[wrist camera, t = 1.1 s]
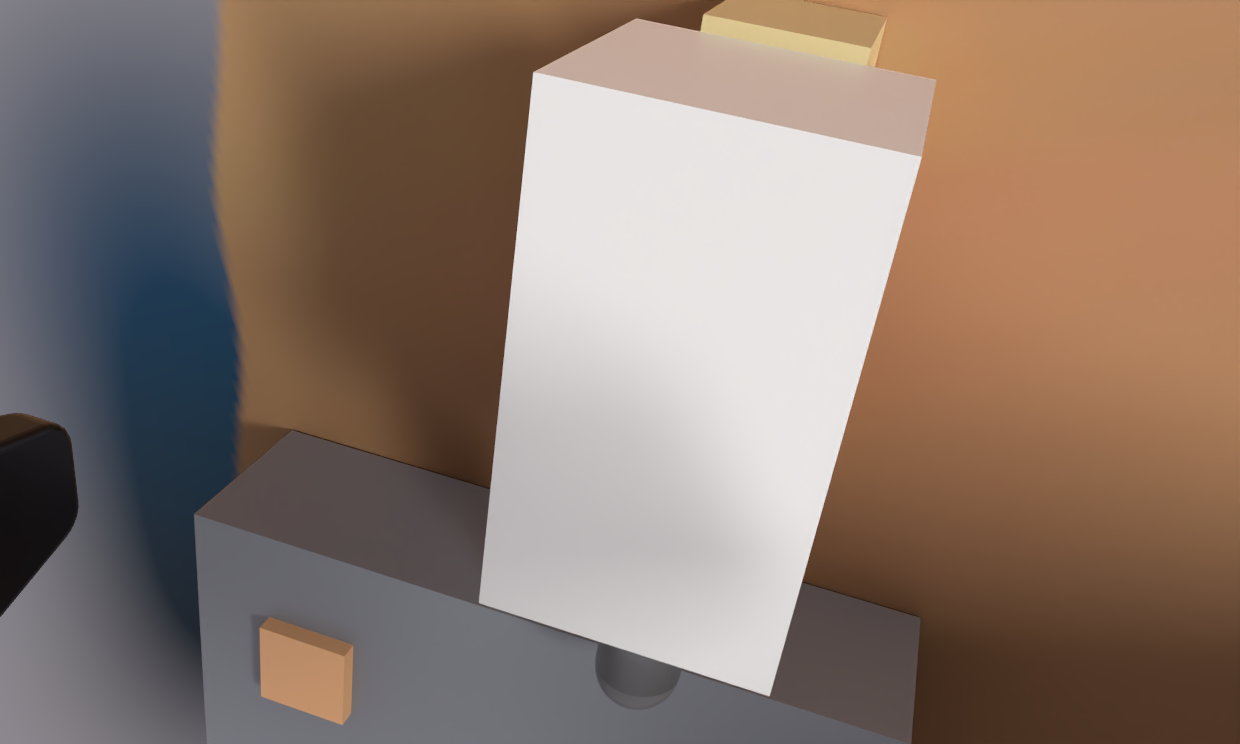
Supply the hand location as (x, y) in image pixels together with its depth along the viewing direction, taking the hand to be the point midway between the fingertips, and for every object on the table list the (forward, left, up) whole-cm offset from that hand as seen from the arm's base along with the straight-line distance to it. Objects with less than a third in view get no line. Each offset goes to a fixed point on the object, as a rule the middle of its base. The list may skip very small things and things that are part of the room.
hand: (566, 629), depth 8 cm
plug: (0, +1, -9) cm, 9 cm away
